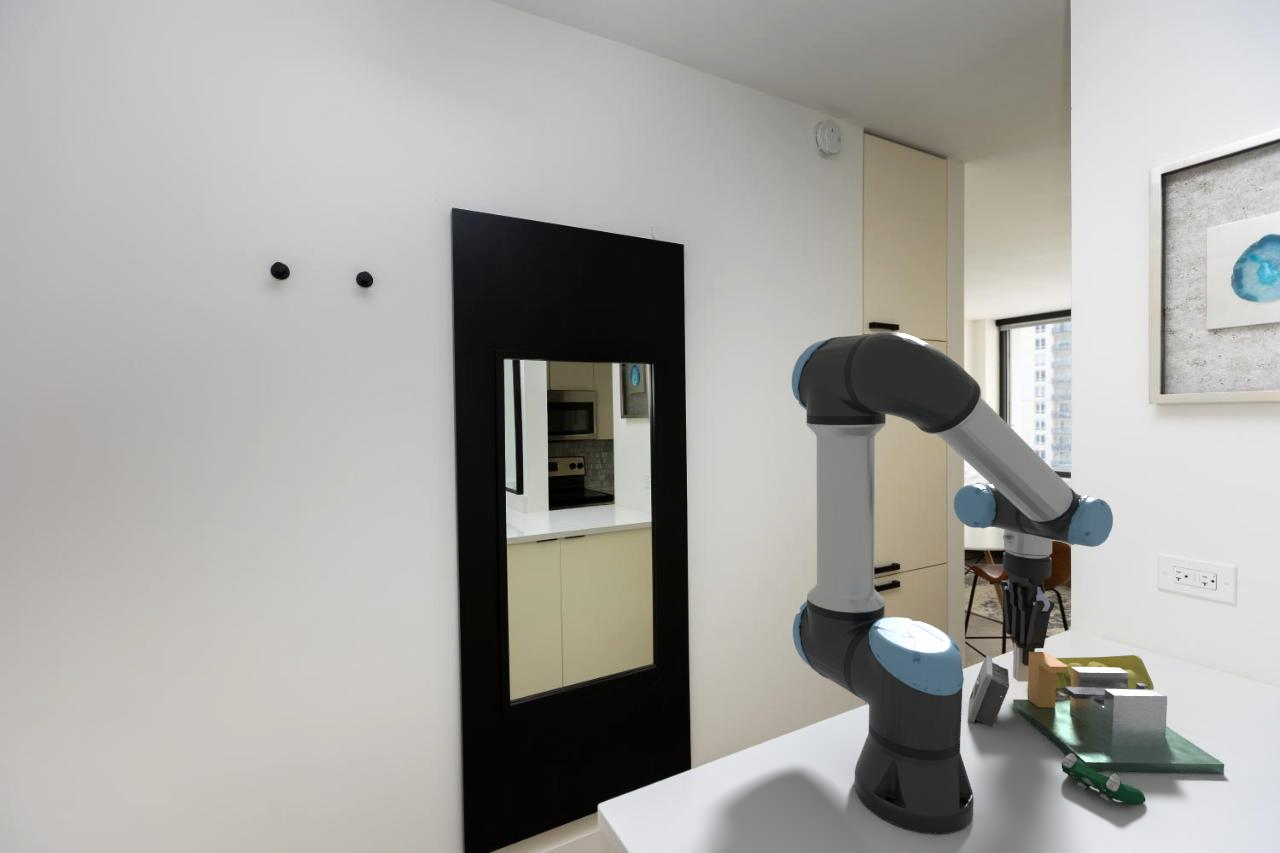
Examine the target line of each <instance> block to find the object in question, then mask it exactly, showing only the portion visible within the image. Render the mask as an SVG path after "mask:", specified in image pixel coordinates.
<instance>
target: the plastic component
mask: <svg viewBox="0 0 1280 853" xmlns="http://www.w3.org/2000/svg"><path fill="white" fill-rule="evenodd" d="M1055 658H1056V659H1057V660H1059V661H1060V662H1062V663H1063V664H1065V665H1066V666H1068V673H1065V672H1056V690H1057V689H1058V690H1059V689H1064V687H1071V667H1119V668H1121V669H1123V670H1124V671H1126V672H1128V688H1130V689H1136V683H1144V684H1145V685H1147V689H1148V690H1155V688H1154V683H1153V681H1152V679H1151V676H1150V674H1149V672H1148V670H1147V668H1146V666H1145V663H1144V661H1143V659H1142V658H1141V657H1140V656H1138V655H1137V654H1127V655H1111V656H1094V657H1093V656H1092V657H1091V656H1090V657H1088V656H1087V657H1055Z"/></svg>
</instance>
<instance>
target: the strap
mask: <svg viewBox="0 0 1280 853" xmlns="http://www.w3.org/2000/svg"><path fill="white" fill-rule="evenodd" d="M1105 689H1130V688H1097V687H1064V688H1063V691H1064V692H1065V693H1066V694H1067V695H1068V696H1071V697H1073V698H1074V699H1102V700H1104V697H1105ZM1130 690H1148V689H1146V688H1143V689H1130Z"/></svg>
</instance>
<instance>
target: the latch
mask: <svg viewBox="0 0 1280 853" xmlns="http://www.w3.org/2000/svg"><path fill="white" fill-rule="evenodd" d="M1056 658H1057V657H1056V656H1053V655H1051V654H1050V653H1049V652H1046V651H1035V652H1029V667H1028V682H1027V699H1026V700H1029V701H1030V702H1032V703H1033V704H1034V705H1035V706H1037V707H1043V708H1055V700H1057V699H1056V697H1057V696H1056V695H1057V694H1056V693H1057V692H1056V691H1057V689H1056V672H1065V673H1068V666H1066V665H1065V664H1063V663H1062V662H1060V661H1059V660H1057V659H1056Z"/></svg>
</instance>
